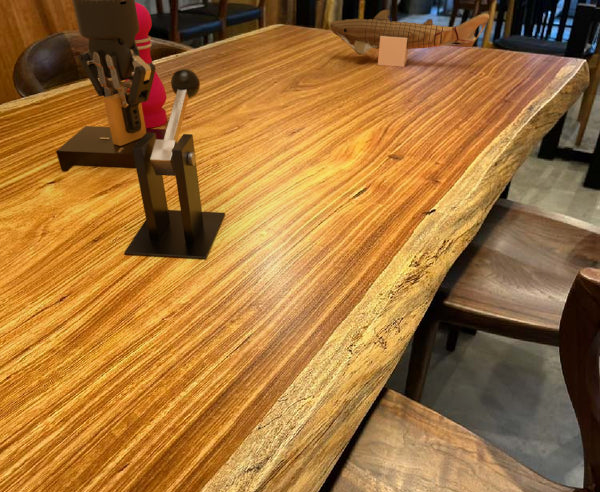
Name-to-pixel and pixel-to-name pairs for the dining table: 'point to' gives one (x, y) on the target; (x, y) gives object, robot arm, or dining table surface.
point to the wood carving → (403, 35)
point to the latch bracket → (172, 223)
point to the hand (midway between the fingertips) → (128, 129)
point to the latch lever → (174, 121)
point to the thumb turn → (121, 121)
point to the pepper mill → (157, 96)
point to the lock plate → (99, 149)
